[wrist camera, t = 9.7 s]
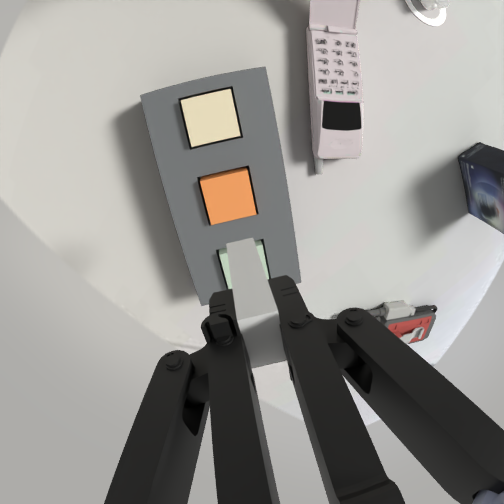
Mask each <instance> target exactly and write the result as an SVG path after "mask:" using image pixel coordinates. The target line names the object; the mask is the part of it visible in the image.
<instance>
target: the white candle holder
mask: <svg viewBox="0 0 504 504" xmlns="http://www.w3.org/2000/svg"><path fill="white" fill-rule="evenodd" d="M405 1H406V3H407V5H408V7H409V8H410V10H411V11H412V12H413V14H414V15H415V16H416V17H417V18H418V19H420V20H421V21H422V22H424V23H426V24H428V25H431V26H439V25H441V24H443V22H444V21H445V18H446V8H447V7H449V6H450V0H420V2H421V4H422V5H423V6H424V7H425V8H426V9H427V10H434V9H440V14H439V16H438V17H437V18H435V19H429V18H426V17H425V16H423V15H422V14H420V13H419V12H418V11H417V10H416V8H415V7H414V5H413V4H412V2H411V0H405Z"/></svg>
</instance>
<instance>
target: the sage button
mask: <svg viewBox="0 0 504 504" xmlns="http://www.w3.org/2000/svg"><path fill="white" fill-rule="evenodd" d="M254 242H255V245H256V248H257V251H258V253H259V256H260V259H261V262H262V265H263V268H264V271H265V274H266V277H267V279H269V276H268V271H267V265H266V260H265V255H264V250H263V245H262V242H261V240H256V241H254ZM219 256H220V259H221V263H222V267H223V270H224V274H225V277H226V281H227V285H228V288H229V289H232V283H231V276H230V269H229V261H228V254H227V247H226V248H222V249H219Z"/></svg>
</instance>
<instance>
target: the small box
mask: <svg viewBox="0 0 504 504" xmlns="http://www.w3.org/2000/svg"><path fill="white" fill-rule="evenodd" d="M458 159H459V163H460V168H461V172H462V177H463V182H464V187H465V192H466V198H467V204H468V211H469V213H470V214H472V215H474V216H475V217H477V218H479V219H480V220H482V221H484V222H486V223H487V224H489V225H490V226H492V227H494V228H495V229H497V230H498V231H500V232H502V233H503V234H504V151H503V150H500V149H498V148H495V147H491V146H488V145H485V144H483V143H481V142H479V143H478V144H477V145H475V146H474V147H472V148H471V149H469V150H467V151H466V152H464V153H463V154H461V155H460V156H459V157H458Z"/></svg>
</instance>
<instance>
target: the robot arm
mask: <svg viewBox="0 0 504 504" xmlns="http://www.w3.org/2000/svg"><path fill="white" fill-rule="evenodd" d="M226 247H227V254H228V261H229V269H230V276H231V283H232V289H228V290H223V291H219V292H214V293H213V294H212V296H211V298H210V299H209V308H210V309H209V312H210V316H208V317H207V318H205V320H204V321H203V322H202V324H201V329H202V332H203V334H204V337H205V339H206V342H207V344H206V345H205V346H204V347H203V348H202V349H200V350H198V351H197V352H194V353H192V354H190V355H189V354H188V353H186V352H185V351H181V350H176V351H171V352H169V353H167V354H165V355H164V356H163V357H161V359H160V360H159V362H158V364H157V366H156V368H155V371H154V373H153V376H152V378H151V381H150V383H149V385H148V388H147V390H146V393H145V395H144V398H143V400H142V403H141V405H140V408H139V411H138V413H137V415H136V418H135V421H134V423H133V426H132V429H131V431H130V434H129V436H128V439H127V442H126V444H125V447H124V450H123V452H122V455H121V457H120V460H119V463H118V466H117V469H116V471H115V474H114V477H113V480H112V483H111V485H110V488H109V491H108V494H107V497H106V500H105V503H104V504H187V503H188V498H189V494H190V489H191V485H192V481H193V476H194V472H195V468H196V463H197V459H198V455H199V450H200V446H201V442H202V437H203V433H204V428H205V424H206V420H207V416H208V411H209V407H210V414H211V430H212V444H213V456H214V467H215V478H216V489H217V499H218V504H280V501H279V497H278V492H277V488H276V483H275V478H274V473H273V469H272V464H271V460H270V455H269V450H268V445H267V440H266V435H265V431H264V425H263V421H262V416H261V411H260V405H259V400H258V395H257V390H256V385H255V380H254V376H253V373H252V369H251V368H256V367H261V366H265V365H269V364H273V363H277V362H281V361H285V360H287V361H288V367H289V373H290V378H291V381H293V385H294V388H295V391H296V395H297V398H298V401H299V404H300V408H301V411H302V414H303V418H304V421H305V424H306V428H307V431H308V434H309V437H310V441H311V444H312V448H313V450H314V454H315V457H316V461H317V464H318V467H319V471H320V474H321V477H322V481H323V484H324V487H325V491H326V494H327V497H328V501H329V504H405V502H404V499H403V497H402V494H401V492H400V490H399V488H398V486H397V485H396V484H395V482H393V481H392V480H390V479H389V478H388V477H387V475H386V473H385V471H384V469H383V466H382V464H381V461H380V459H379V457H378V454H377V452H376V450H375V447H374V445H373V443H372V440H371V438H370V436H369V434H368V431H367V429H366V427H365V424H364V422H363V420H362V418H361V415H360V413H359V411H358V409H357V406H356V404H355V402H354V400H353V398H352V395H351V393H350V391H349V389H348V387H347V384H346V382H345V380H344V378H343V376H344V377H345V378H346V380H347V381H348V382H349V383H350V384H351V385H352V386H353V388H354V389H355V390H356V391H357V392H358V393H359V394H360V396H361V397H362V398H363V399H364V400H365V401H366V402H367V404H368V405H369V406H370V407H371V408H372V409H373V410H374V412H375V413H376V414H377V415H378V416H379V417H380V418H381V419H382V421H383V422H384V423H385V424H386V425H387V426H388V427H389V429H390V430H391V431H392V432H393V433H394V434H395V435H396V436H397V438H398V439H399V440H400V441H401V442H402V443H403V444H404V445H405V446H406V448H407V449H408V450H409V451H410V452H411V453H412V454H413V455H414V457H415V458H416V459H417V460H418V461H419V462H420V463H421V464H422V466H423V467H424V468H425V469H426V470H427V471H428V472H429V473H430V474H431V476H432V477H433V478H434V479H435V480H436V481H437V482H438V483H439V484H440V485H441V487H442V488H443V489H444V490H445V491H446V492H447V493H448V494H449V495H450V496H452V498H454V499H455V500H456V501H458V502H459V503H461V504H504V430H503V429H502V428H500V427H499V426H498V425H497V424H496V423H495V422H494V421H493V420H492V419H491V418H490V417H489V416H487V415H486V414H485V413H484V412H483V411H482V410H481V409H480V408H479V407H478V406H476V405H475V404H474V403H473V402H472V401H471V400H470V399H469V398H468V397H466V396H465V395H464V394H463V393H462V392H461V391H460V390H459V389H457V388H456V387H455V386H454V385H453V384H452V383H451V382H449V381H448V380H447V379H446V378H445V377H444V376H443V375H442V374H440V373H439V372H438V371H437V370H436V369H435V368H433V367H432V366H431V365H430V364H429V363H428V362H427V361H425V360H424V359H423V358H422V357H421V356H420V355H418V354H417V353H416V352H415V351H414V350H413V349H411V348H410V347H409V346H408V345H407V344H406V343H404V342H403V341H402V340H401V339H400V338H398V337H397V336H396V335H395V334H394V333H393V332H391V331H390V330H389V329H388V328H387V327H385V326H384V325H383V324H382V323H381V322H379V321H378V320H377V319H376V318H375V317H373V316H372V315H371V314H370V313H369V312H367V311H365V310H364V309H360V308H349V309H346V310H343V311H342V312H341V313H339V315H338V317H337V319H329V320H327V319H319V318H316V317H314V315H313V314H312V313H310V312H309V311H308V309H307V307H306V305H305V303H304V301H303V299H302V297H301V294H300V292H299V290H298V288H297V286H296V284H295V282H294V280H293V279H292V278H290V277H289V276H287V275H284V276H279V277H275V278H271V279H267V277H266V274H265V271H264V268H263V265H262V262H261V259H260V256H259V253H258V251H257V248H256V245H255V242H254V239H253V238H248V239H244V240H240V241H235V242H231V243H227V244H226ZM342 375H343V376H342Z"/></svg>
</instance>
